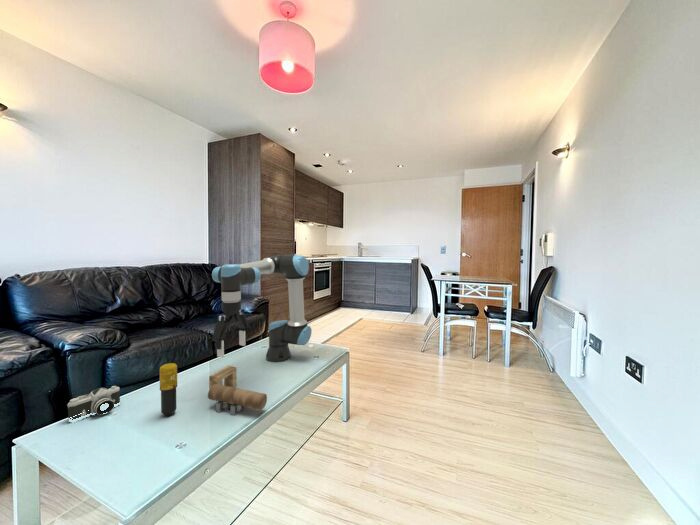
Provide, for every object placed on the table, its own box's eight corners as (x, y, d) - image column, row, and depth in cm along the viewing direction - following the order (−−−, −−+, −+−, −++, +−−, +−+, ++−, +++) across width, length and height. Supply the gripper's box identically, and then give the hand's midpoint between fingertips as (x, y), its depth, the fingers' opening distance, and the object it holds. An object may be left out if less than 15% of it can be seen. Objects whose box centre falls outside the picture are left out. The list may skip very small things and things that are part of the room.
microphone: (151, 408, 115) (150, 361, 114) (181, 411, 113) (180, 362, 112) (139, 417, 109) (138, 366, 108) (170, 419, 107) (169, 368, 107)
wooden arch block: (209, 395, 126) (209, 375, 125) (228, 383, 137) (228, 365, 137) (218, 397, 124) (218, 377, 124) (236, 385, 136) (236, 367, 135)
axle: (208, 402, 115) (207, 388, 114) (219, 394, 121) (218, 381, 120) (258, 413, 108) (257, 399, 107) (267, 404, 114) (266, 390, 113)
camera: (72, 428, 101) (72, 401, 101) (65, 421, 106) (64, 395, 106) (125, 408, 115) (125, 384, 115) (117, 402, 119) (116, 379, 119)
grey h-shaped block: (230, 402, 120) (230, 393, 120) (247, 406, 117) (247, 396, 117) (216, 412, 112) (216, 403, 112) (234, 416, 110) (234, 406, 110)
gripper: (242, 295, 130) (243, 340, 131) (200, 306, 106) (201, 360, 107) (256, 296, 128) (257, 342, 129) (217, 307, 104) (218, 363, 105)
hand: (232, 350), depth 118 cm, fingers open, 13 cm apart
